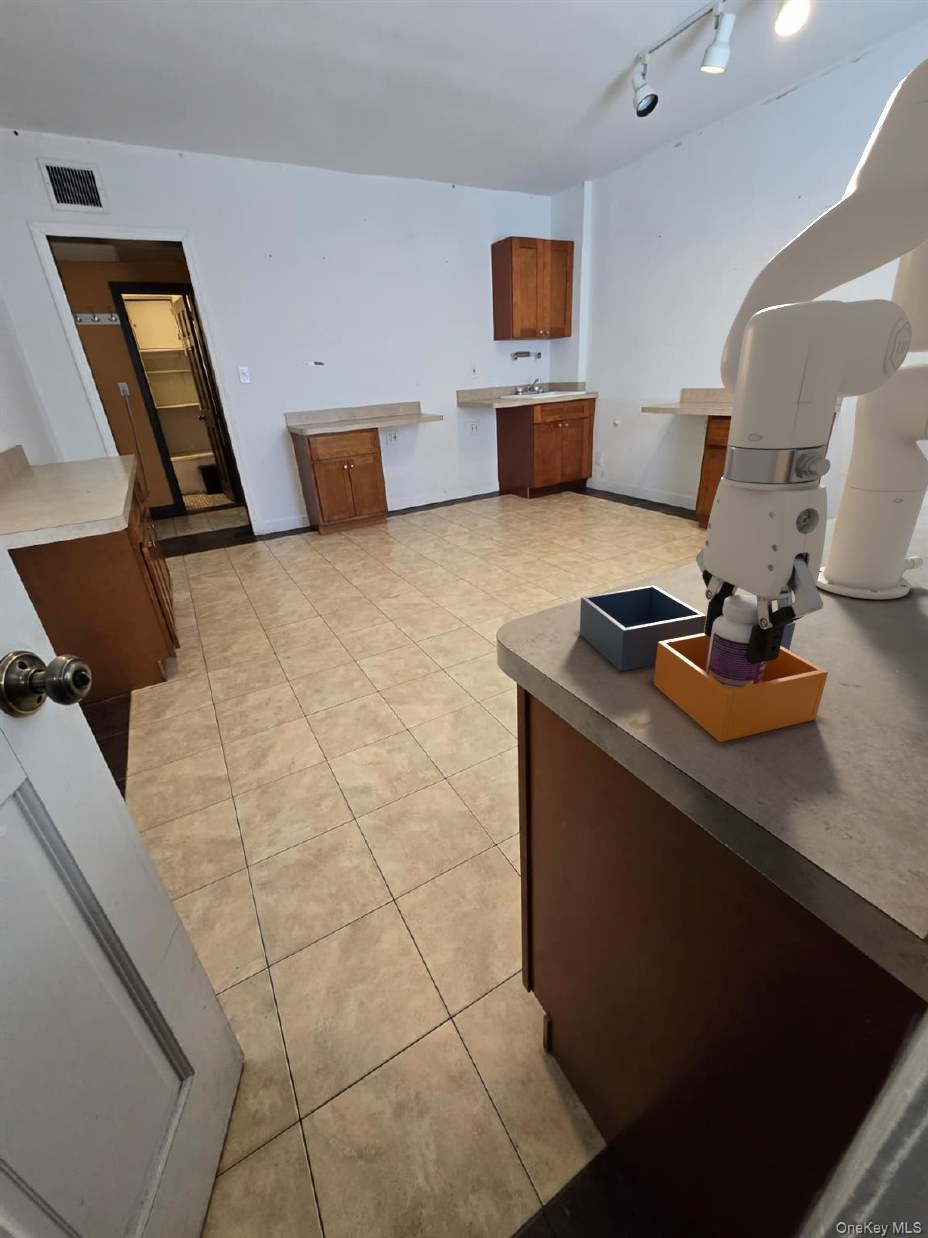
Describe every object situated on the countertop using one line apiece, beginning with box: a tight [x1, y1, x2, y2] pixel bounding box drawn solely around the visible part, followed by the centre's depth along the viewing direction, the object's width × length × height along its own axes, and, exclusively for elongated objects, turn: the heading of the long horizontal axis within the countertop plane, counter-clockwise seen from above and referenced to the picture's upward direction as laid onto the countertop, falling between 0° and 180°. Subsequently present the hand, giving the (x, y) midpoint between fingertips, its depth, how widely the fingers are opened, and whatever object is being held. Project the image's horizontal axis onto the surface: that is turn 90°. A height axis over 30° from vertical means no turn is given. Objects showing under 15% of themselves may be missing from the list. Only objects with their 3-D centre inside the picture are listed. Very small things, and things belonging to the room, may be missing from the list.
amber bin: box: [653, 633, 829, 743], centre depth 54 cm, size 11×11×6 cm
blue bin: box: [579, 584, 707, 672], centre depth 67 cm, size 11×11×6 cm
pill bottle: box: [705, 594, 766, 690], centre depth 53 cm, size 5×5×10 cm
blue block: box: [781, 621, 796, 651], centre depth 64 cm, size 4×4×4 cm
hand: (739, 644), depth 53 cm, fingers closed on pill bottle, 5 cm apart
